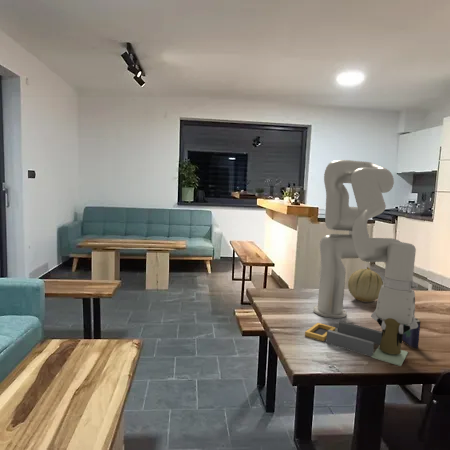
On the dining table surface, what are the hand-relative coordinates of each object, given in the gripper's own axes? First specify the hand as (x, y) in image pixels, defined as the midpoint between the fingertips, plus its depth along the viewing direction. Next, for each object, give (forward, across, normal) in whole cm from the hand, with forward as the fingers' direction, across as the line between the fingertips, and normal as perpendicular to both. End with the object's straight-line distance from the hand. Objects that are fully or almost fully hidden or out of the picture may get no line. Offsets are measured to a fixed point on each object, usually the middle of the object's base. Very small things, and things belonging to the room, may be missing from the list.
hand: (391, 342), depth 110 cm
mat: (+4, 0, +1) cm, 4 cm away
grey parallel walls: (+4, +11, 0) cm, 11 cm away
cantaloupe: (+4, +21, -50) cm, 54 cm away
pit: (+4, +22, 0) cm, 22 cm away
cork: (+3, 0, 0) cm, 3 cm away
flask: (+4, -3, -13) cm, 14 cm away
